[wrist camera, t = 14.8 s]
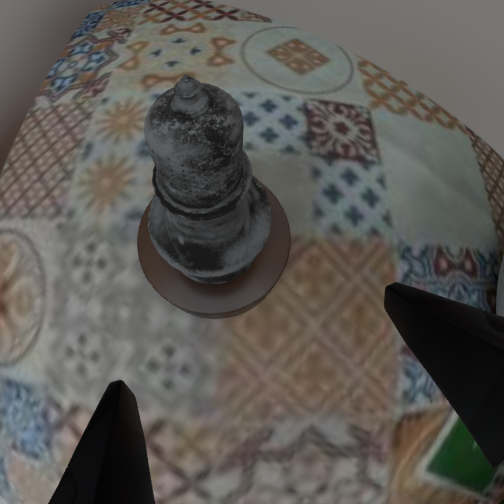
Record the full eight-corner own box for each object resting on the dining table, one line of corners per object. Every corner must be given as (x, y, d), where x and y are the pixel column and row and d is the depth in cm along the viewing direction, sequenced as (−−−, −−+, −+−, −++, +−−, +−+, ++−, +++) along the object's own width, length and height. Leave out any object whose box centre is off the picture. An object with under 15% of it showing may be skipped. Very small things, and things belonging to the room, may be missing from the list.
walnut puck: (279, 193, 23) (286, 168, 19) (283, 318, 20) (293, 314, 17) (157, 193, 22) (146, 169, 19) (148, 316, 20) (131, 312, 16)
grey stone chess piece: (238, 178, 19) (245, 3, 7) (283, 262, 18) (362, 126, 6) (149, 216, 18) (62, 64, 6) (187, 307, 17) (93, 236, 5)
